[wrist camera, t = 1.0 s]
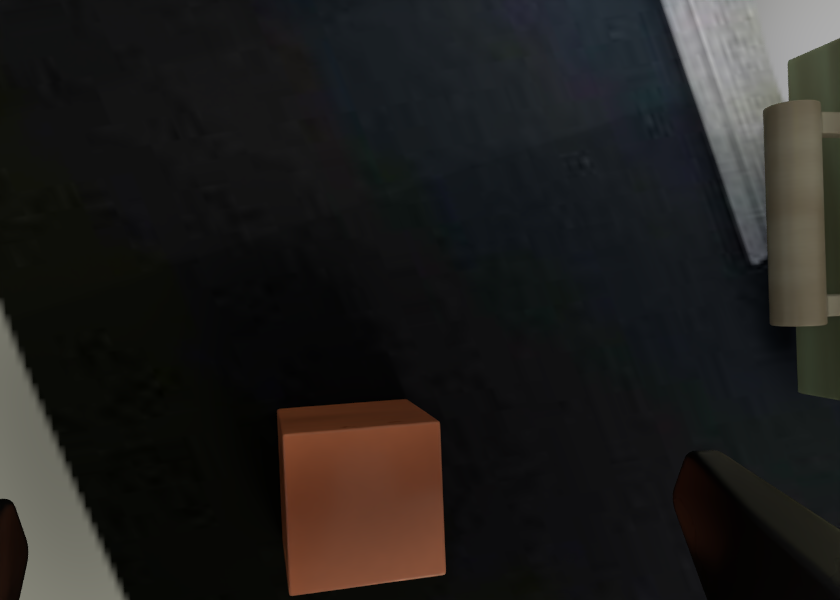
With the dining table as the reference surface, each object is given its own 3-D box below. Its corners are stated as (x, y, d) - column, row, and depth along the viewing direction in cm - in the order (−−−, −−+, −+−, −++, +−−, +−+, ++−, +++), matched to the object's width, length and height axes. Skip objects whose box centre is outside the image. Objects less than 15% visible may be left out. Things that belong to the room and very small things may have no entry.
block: (412, 526, 22) (446, 575, 18) (282, 541, 21) (289, 597, 17) (407, 398, 22) (440, 420, 18) (276, 408, 21) (282, 434, 17)
